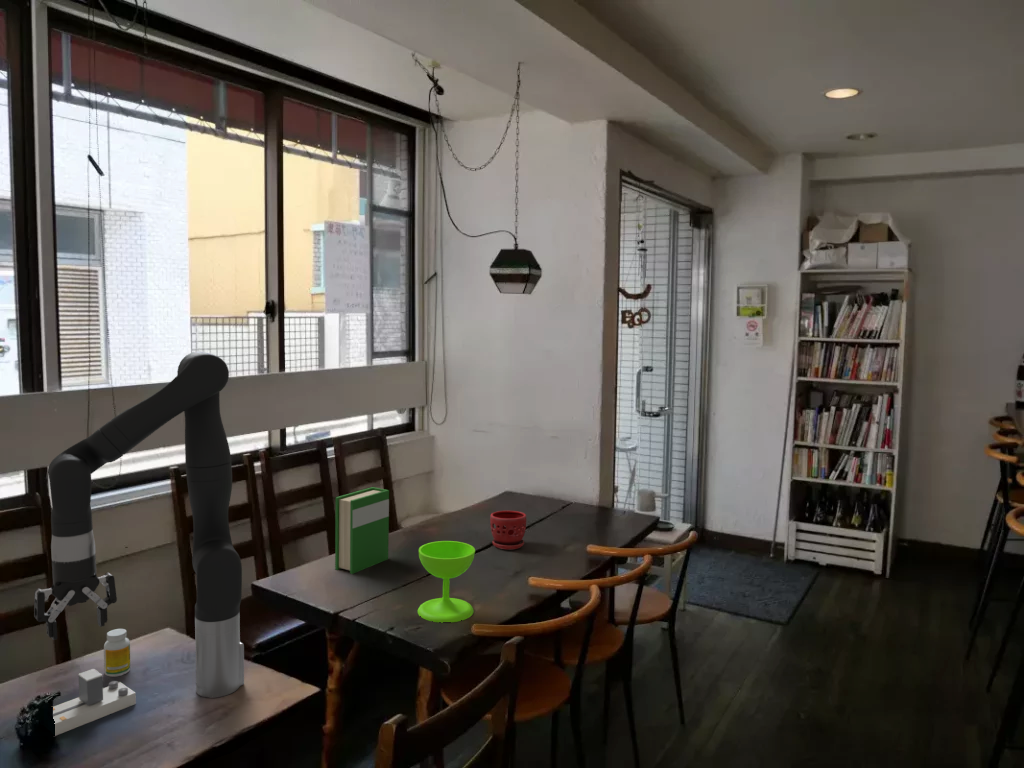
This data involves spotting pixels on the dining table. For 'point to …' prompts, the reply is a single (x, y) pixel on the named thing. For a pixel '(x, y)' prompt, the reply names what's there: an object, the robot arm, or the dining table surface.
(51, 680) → the dining table surface
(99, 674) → the fader tab
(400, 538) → the dining table surface
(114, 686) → the console
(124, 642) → the supplement bottle
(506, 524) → the plant pot
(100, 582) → the robot arm
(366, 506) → the hardback book
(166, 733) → the dining table surface
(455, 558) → the wineglass
